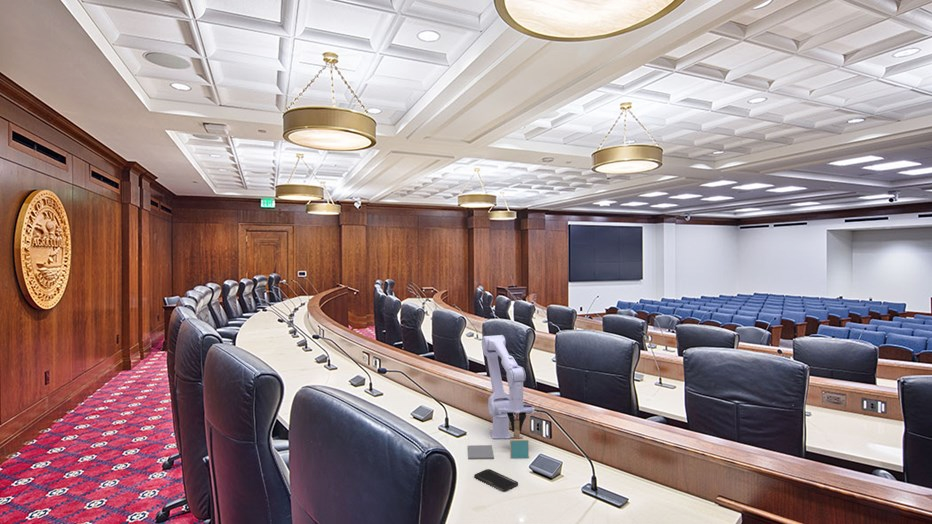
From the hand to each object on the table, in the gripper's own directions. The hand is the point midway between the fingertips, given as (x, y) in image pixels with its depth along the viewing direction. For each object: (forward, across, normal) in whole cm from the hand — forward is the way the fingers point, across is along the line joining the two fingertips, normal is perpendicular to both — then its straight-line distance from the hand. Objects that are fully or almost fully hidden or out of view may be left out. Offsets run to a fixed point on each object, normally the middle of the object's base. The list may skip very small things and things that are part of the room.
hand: (516, 430), depth 183 cm
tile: (+8, 0, -8) cm, 11 cm away
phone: (+8, -11, -27) cm, 30 cm away
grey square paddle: (+4, 0, -1) cm, 4 cm away
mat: (+7, -15, -3) cm, 17 cm away
